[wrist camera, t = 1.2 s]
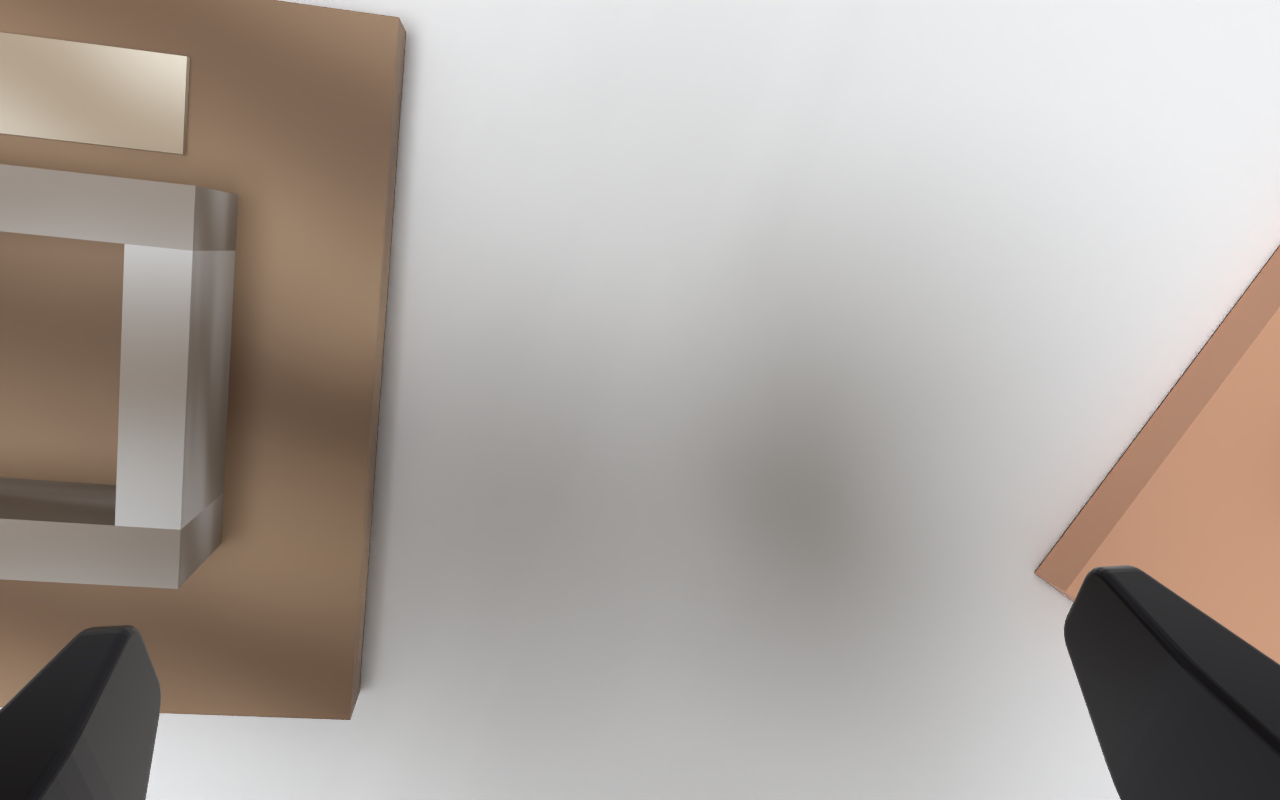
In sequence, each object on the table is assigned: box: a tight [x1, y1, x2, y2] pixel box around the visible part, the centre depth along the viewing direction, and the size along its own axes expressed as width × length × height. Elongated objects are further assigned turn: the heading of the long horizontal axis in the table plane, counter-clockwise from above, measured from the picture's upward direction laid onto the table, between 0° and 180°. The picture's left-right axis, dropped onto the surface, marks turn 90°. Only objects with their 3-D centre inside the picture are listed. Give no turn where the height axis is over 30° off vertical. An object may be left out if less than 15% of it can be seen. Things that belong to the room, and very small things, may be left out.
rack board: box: [0, 0, 406, 720], centre depth 20 cm, size 16×14×4 cm
